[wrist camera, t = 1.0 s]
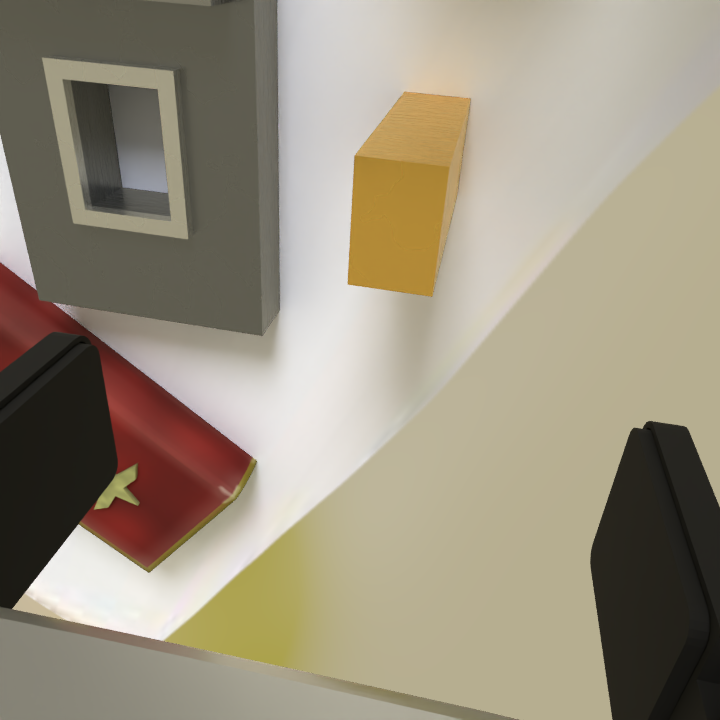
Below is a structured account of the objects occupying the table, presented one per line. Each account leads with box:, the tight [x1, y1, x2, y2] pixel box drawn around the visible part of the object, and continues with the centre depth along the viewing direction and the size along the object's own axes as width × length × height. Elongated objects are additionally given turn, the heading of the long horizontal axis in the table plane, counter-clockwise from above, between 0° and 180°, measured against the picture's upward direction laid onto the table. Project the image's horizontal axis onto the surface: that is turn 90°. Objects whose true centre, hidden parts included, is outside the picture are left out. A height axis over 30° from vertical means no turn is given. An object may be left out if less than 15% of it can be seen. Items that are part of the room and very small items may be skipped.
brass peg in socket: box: [348, 92, 471, 297], centre depth 26 cm, size 4×3×11 cm, turn 176°
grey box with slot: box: [0, 0, 280, 336], centre depth 31 cm, size 18×13×5 cm
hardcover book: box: [0, 263, 257, 573], centre depth 43 cm, size 12×21×4 cm, turn 49°
